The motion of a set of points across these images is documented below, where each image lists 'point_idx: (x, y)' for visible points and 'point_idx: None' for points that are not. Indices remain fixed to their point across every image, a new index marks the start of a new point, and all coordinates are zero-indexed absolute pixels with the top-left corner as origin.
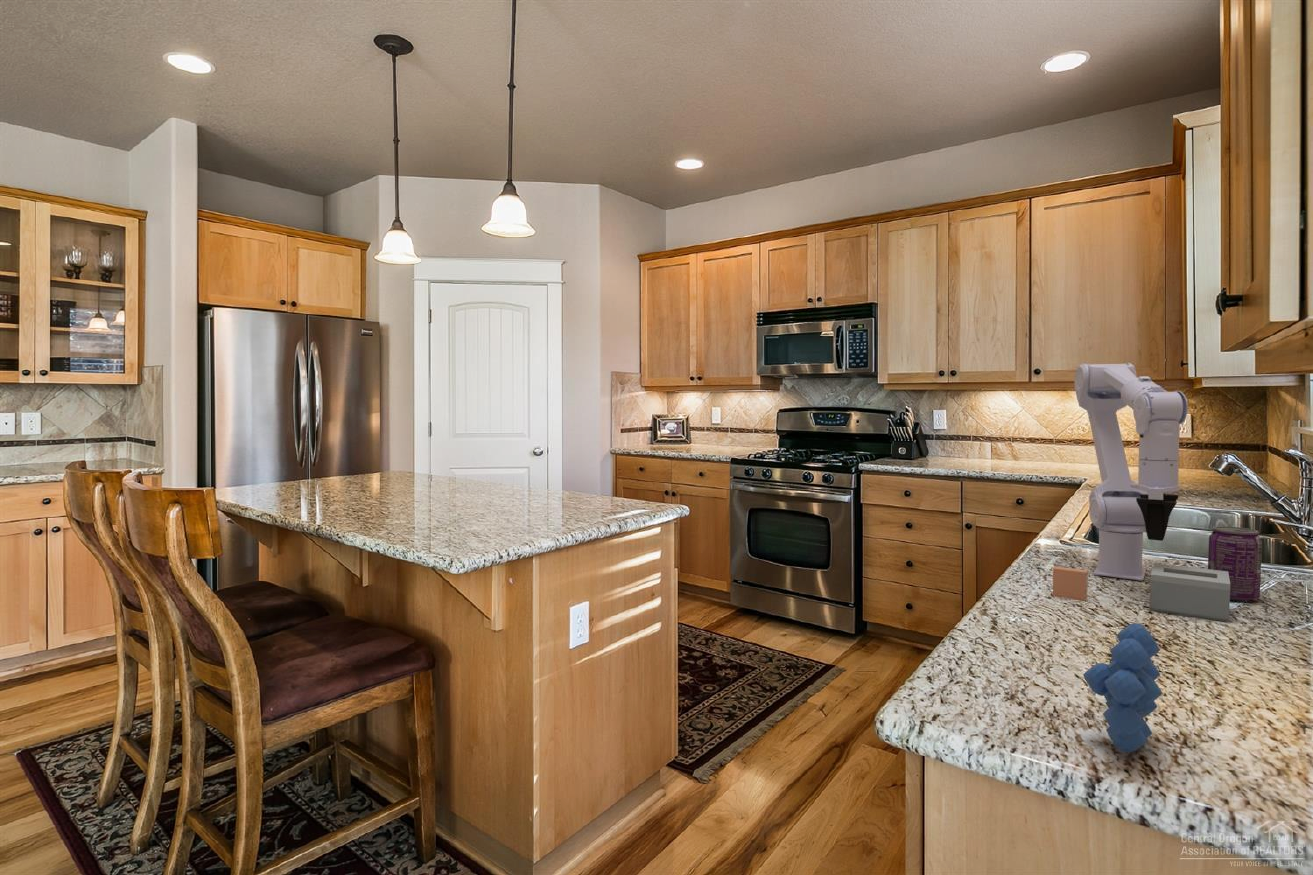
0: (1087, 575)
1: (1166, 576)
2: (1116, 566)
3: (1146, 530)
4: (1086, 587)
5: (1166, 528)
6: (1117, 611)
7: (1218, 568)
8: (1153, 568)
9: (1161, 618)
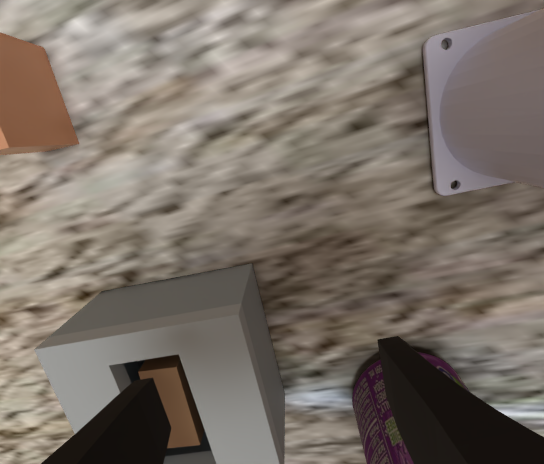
0: (17, 148)
1: (52, 383)
2: (455, 113)
3: (98, 413)
4: (28, 151)
5: (400, 432)
6: (23, 242)
7: (378, 439)
8: (134, 334)
9: (57, 323)
